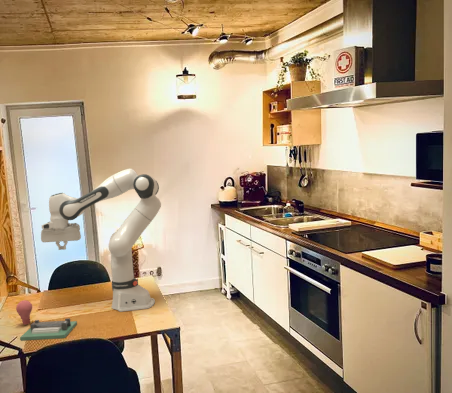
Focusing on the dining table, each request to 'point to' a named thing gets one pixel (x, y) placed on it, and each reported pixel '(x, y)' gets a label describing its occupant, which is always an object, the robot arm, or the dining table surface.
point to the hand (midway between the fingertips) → (62, 249)
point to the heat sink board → (49, 331)
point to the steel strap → (49, 323)
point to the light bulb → (24, 311)
